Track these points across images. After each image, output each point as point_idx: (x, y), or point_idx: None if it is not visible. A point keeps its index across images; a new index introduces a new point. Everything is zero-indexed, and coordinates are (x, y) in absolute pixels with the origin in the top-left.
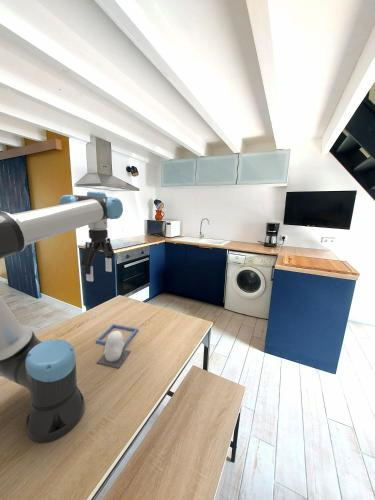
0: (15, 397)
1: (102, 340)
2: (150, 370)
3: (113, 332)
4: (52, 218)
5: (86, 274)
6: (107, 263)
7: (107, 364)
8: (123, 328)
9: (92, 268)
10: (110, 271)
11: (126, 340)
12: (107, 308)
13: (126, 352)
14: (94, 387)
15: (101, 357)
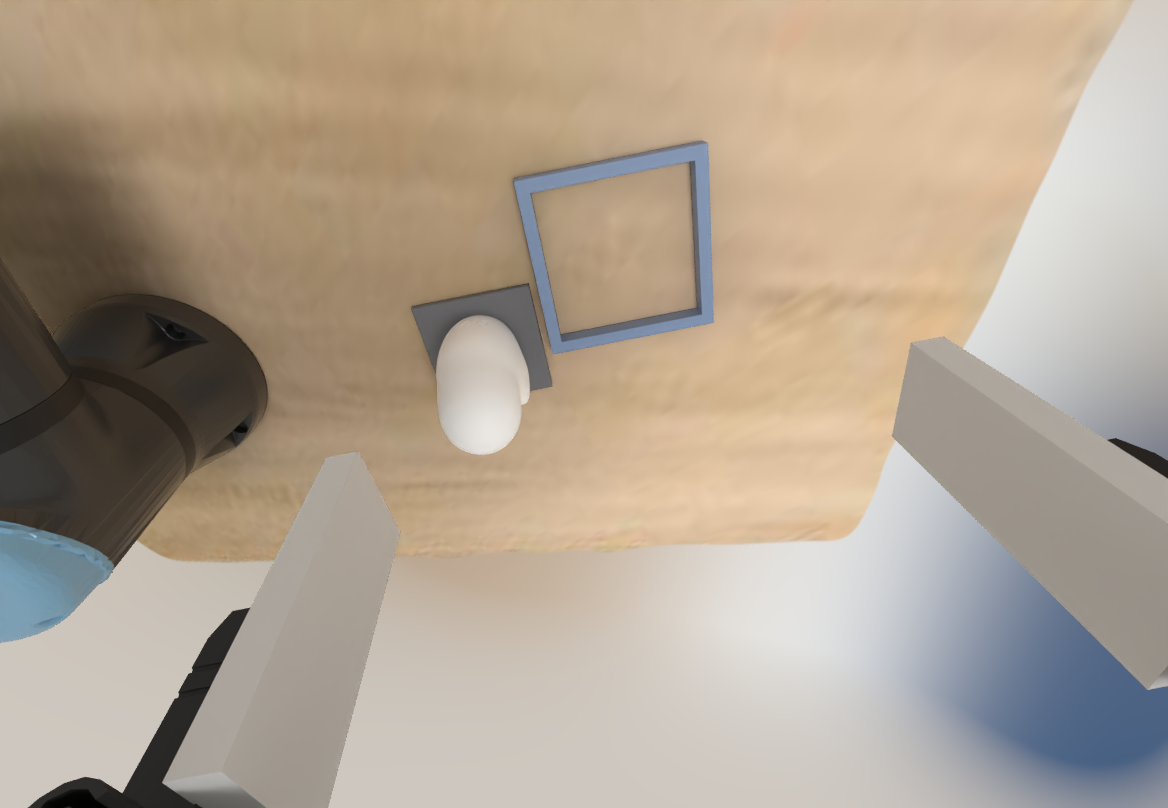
0: (35, 145)
1: (535, 219)
2: (508, 494)
3: (470, 429)
4: None
5: (283, 556)
6: (1041, 498)
7: (431, 359)
8: (695, 235)
9: (324, 780)
10: (898, 433)
11: (597, 335)
12: None
13: (534, 378)
14: (327, 392)
15: (445, 304)
